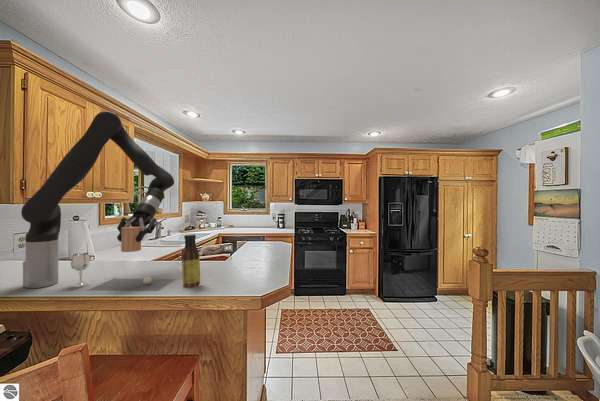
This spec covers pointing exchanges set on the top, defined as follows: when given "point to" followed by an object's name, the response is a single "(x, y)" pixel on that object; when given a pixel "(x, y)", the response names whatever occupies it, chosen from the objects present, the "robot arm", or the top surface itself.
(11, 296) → the top surface
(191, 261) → the sauce bottle
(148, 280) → the ivory ball
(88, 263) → the wineglass
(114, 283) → the rubber mat
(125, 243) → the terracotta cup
